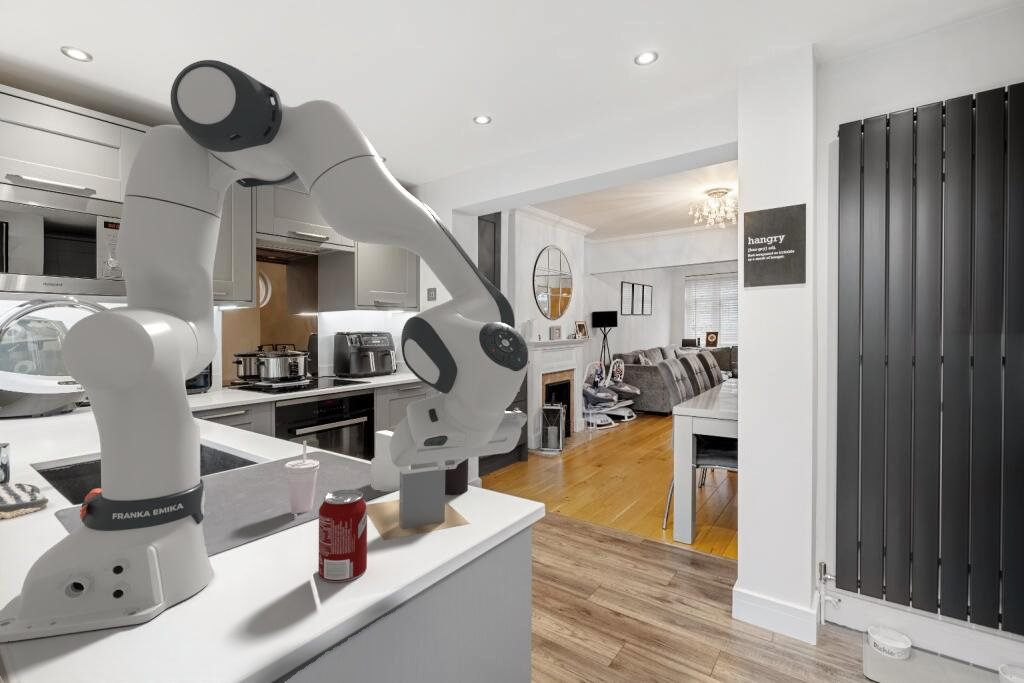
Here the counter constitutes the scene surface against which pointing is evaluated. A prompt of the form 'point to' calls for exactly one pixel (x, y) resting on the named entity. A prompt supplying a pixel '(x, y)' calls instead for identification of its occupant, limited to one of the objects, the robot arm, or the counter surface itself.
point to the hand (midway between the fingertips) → (445, 465)
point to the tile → (421, 497)
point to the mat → (388, 527)
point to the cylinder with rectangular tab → (385, 464)
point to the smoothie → (301, 482)
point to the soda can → (342, 536)
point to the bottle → (457, 479)
